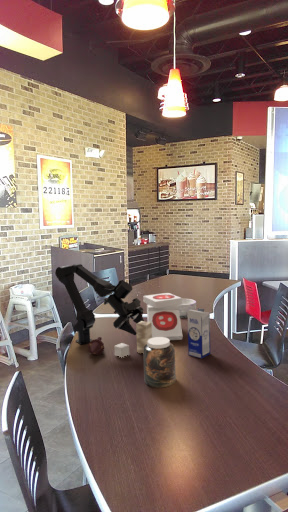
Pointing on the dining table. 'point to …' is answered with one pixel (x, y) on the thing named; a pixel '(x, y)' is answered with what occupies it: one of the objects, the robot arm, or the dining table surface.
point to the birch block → (143, 334)
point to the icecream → (96, 346)
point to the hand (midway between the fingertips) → (141, 331)
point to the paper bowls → (186, 306)
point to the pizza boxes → (164, 315)
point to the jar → (159, 362)
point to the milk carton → (198, 333)
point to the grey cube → (121, 350)
